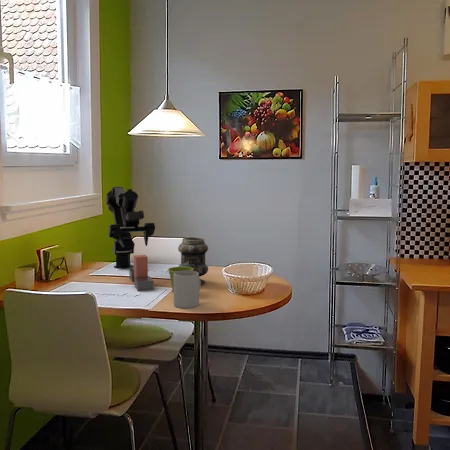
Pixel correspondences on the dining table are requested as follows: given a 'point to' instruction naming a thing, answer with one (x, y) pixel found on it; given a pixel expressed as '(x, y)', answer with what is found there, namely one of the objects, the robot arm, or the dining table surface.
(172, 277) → the plant pot
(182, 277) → the mug
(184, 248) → the apothecary jar
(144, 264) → the pink rectangular block
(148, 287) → the gray block
